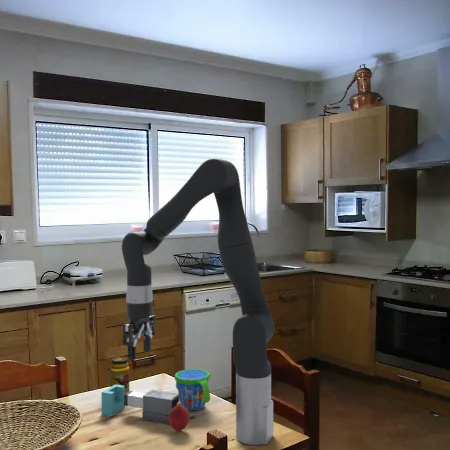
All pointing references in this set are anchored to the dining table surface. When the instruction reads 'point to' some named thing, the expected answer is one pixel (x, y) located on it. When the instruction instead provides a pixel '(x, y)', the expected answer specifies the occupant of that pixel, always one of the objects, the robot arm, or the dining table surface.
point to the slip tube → (133, 399)
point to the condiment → (120, 372)
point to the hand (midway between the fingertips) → (139, 355)
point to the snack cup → (193, 388)
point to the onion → (179, 417)
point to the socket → (113, 400)
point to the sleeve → (158, 406)
